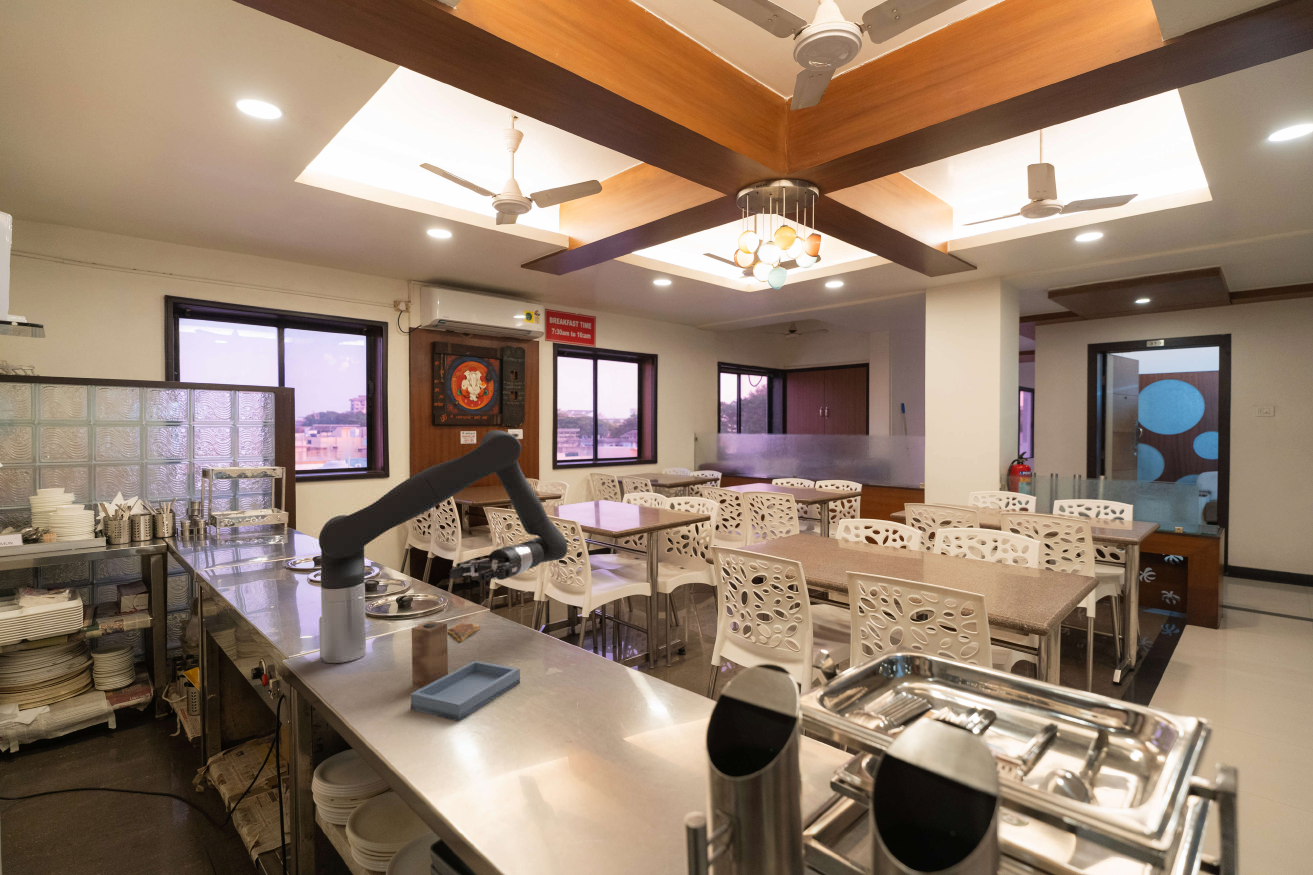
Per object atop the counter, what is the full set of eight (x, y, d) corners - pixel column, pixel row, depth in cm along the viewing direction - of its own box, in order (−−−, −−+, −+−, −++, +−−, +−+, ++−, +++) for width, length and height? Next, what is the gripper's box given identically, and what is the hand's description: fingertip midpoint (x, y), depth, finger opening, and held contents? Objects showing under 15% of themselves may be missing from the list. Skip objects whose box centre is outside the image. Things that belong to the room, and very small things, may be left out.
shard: (460, 645, 152) (460, 637, 152) (433, 643, 154) (433, 635, 154) (482, 630, 163) (482, 623, 163) (456, 628, 164) (456, 622, 164)
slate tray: (411, 709, 116) (410, 693, 116) (475, 673, 133) (475, 660, 133) (459, 720, 111) (459, 704, 111) (520, 682, 128) (519, 668, 128)
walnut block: (412, 684, 128) (411, 627, 127) (430, 675, 132) (429, 620, 132) (430, 688, 125) (429, 630, 125) (448, 679, 130) (447, 623, 130)
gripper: (487, 544, 156) (441, 557, 141) (533, 548, 150) (489, 562, 135) (488, 573, 156) (441, 589, 141) (533, 578, 150) (490, 595, 135)
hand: (465, 576), depth 138 cm, fingers open, 8 cm apart
